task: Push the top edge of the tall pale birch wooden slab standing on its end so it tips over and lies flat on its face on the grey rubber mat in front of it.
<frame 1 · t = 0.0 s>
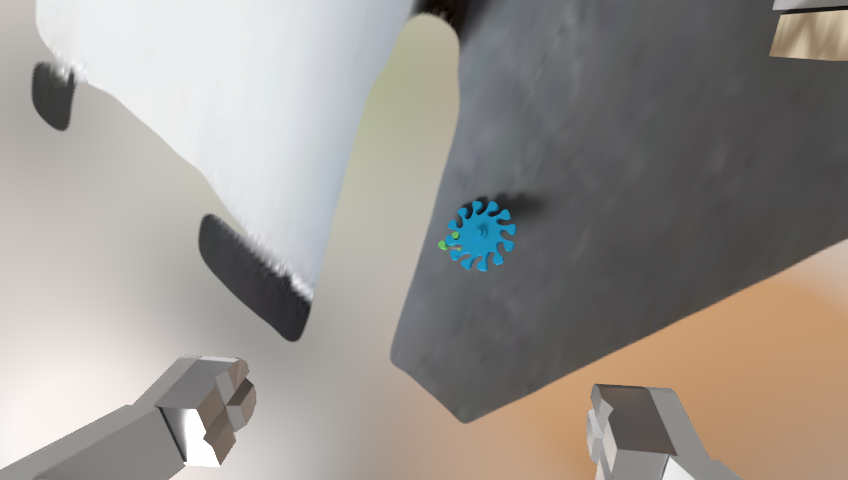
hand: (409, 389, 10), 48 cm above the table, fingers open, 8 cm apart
birch slab: (827, 33, 44), on the table
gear: (477, 224, 60), on the table
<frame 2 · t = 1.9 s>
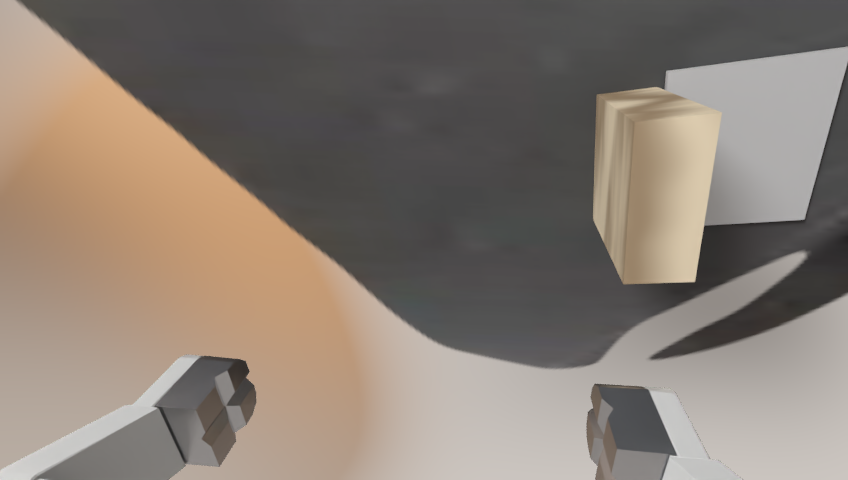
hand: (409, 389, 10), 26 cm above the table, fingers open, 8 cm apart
birch slab: (622, 158, 32), on the table
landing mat: (736, 147, 30), on the table
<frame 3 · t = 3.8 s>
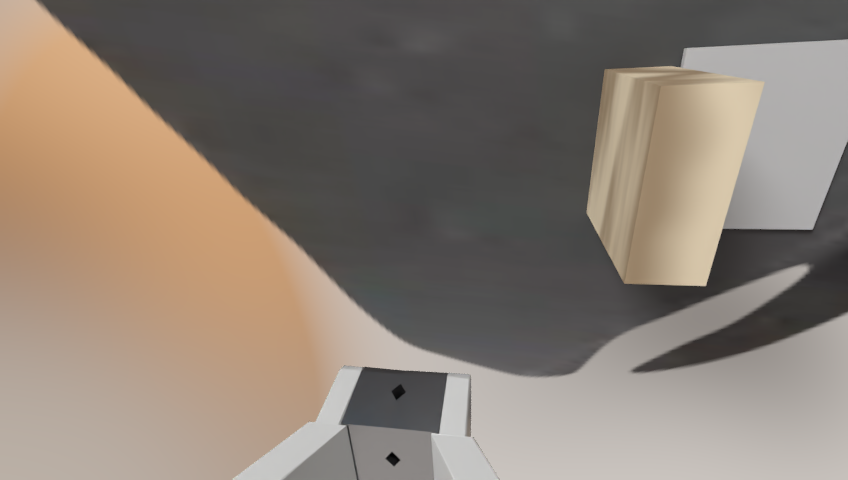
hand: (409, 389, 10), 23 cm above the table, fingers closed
birch slab: (625, 145, 28), on the table
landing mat: (750, 143, 27), on the table
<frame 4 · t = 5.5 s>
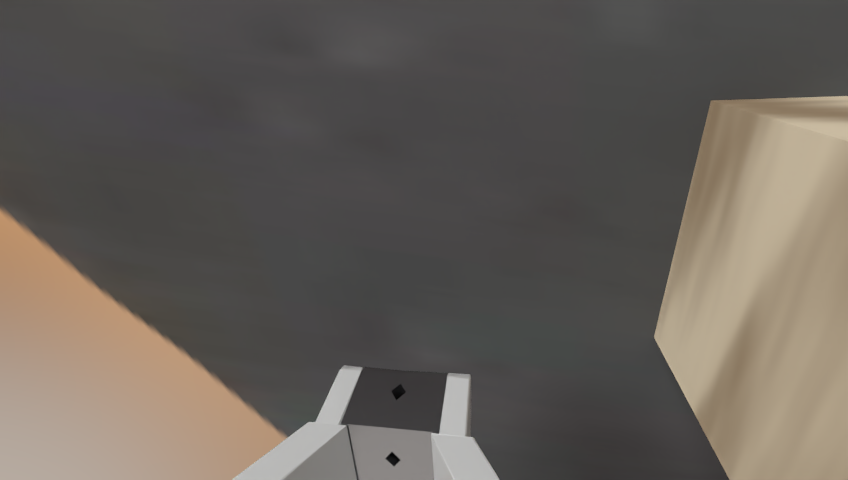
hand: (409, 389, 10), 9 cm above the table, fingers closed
birch slab: (735, 235, 16), on the table
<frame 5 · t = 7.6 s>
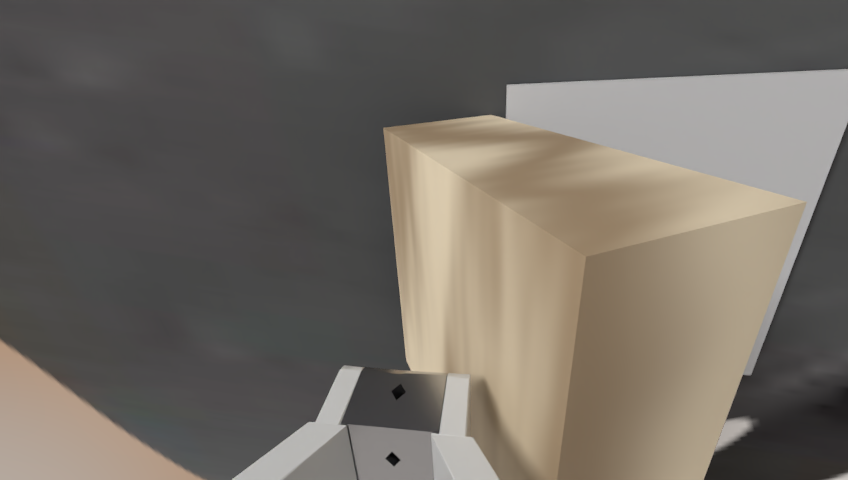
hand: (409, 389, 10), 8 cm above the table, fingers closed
birch slab: (444, 249, 16), point 1 cm above the table, tilted 28°
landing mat: (639, 242, 16), on the table
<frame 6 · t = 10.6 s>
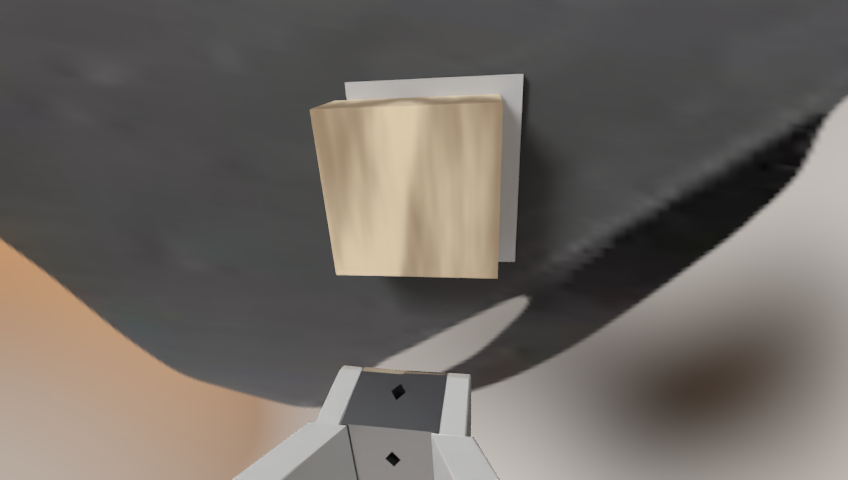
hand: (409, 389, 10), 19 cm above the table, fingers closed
birch slab: (335, 188, 25), point 2 cm above the table, tilted 90°, touching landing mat
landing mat: (436, 176, 27), on the table
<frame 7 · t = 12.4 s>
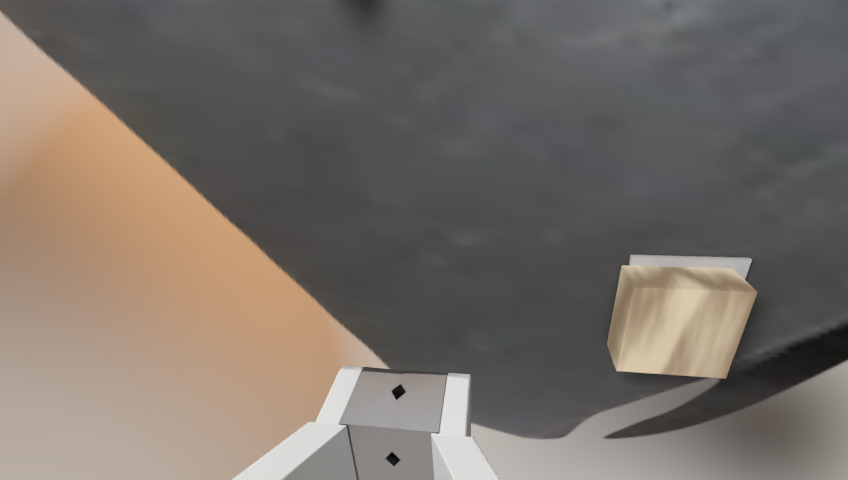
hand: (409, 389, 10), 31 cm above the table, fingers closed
birch slab: (619, 318, 41), point 2 cm above the table, tilted 90°, touching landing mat
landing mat: (675, 307, 42), on the table
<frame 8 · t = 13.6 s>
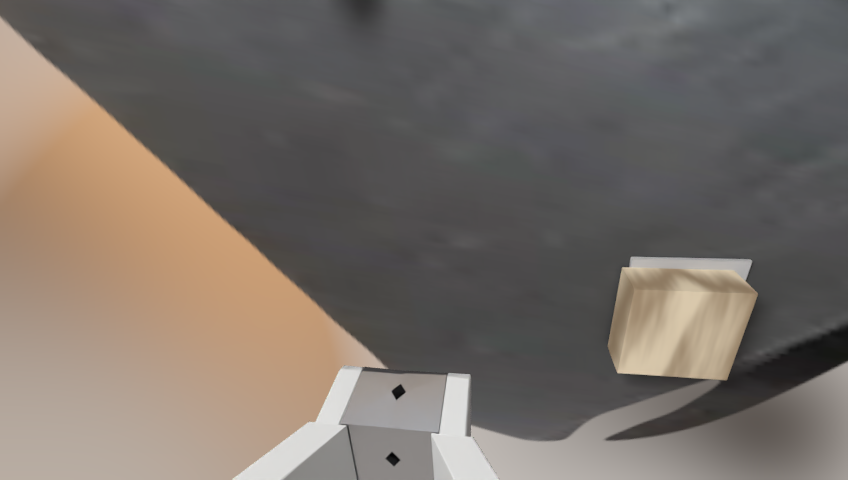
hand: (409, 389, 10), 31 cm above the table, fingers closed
birch slab: (619, 320, 41), point 2 cm above the table, tilted 90°, touching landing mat
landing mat: (675, 309, 42), on the table
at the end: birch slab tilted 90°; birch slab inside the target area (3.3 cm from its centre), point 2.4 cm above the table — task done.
